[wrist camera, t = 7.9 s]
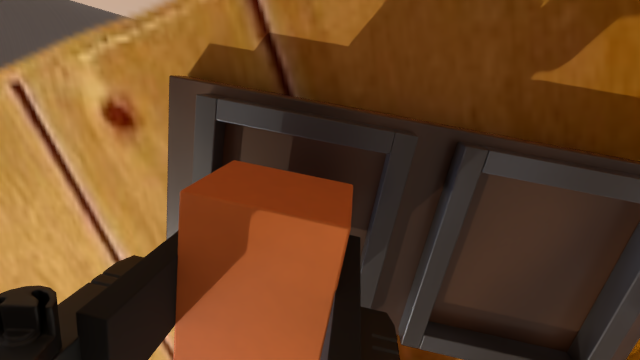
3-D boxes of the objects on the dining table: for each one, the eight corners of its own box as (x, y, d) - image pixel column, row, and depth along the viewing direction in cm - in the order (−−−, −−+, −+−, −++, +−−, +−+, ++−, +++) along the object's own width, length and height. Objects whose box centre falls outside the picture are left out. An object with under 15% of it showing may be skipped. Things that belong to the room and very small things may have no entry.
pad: (220, 299, 15) (171, 373, 11) (233, 159, 13) (178, 190, 9) (322, 323, 14) (309, 408, 11) (353, 184, 12) (351, 227, 8)
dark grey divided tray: (178, 268, 20) (152, 294, 17) (185, 76, 16) (152, 74, 14) (591, 361, 18) (628, 406, 16) (702, 173, 15) (775, 191, 12)
